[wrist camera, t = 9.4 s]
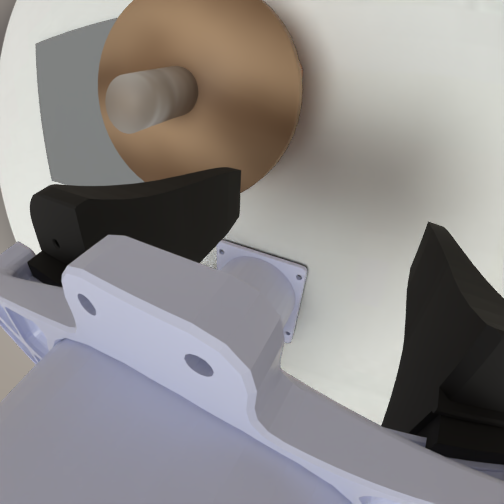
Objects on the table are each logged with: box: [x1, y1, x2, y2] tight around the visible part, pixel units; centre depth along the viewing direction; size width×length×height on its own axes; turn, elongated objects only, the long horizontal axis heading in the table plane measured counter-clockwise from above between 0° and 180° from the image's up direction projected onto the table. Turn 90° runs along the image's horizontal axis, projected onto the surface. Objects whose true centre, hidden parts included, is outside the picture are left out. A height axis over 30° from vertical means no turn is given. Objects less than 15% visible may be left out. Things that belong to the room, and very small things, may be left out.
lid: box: [98, 0, 303, 193], centre depth 15 cm, size 14×14×5 cm
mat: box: [36, 18, 144, 186], centre depth 27 cm, size 18×18×1 cm
